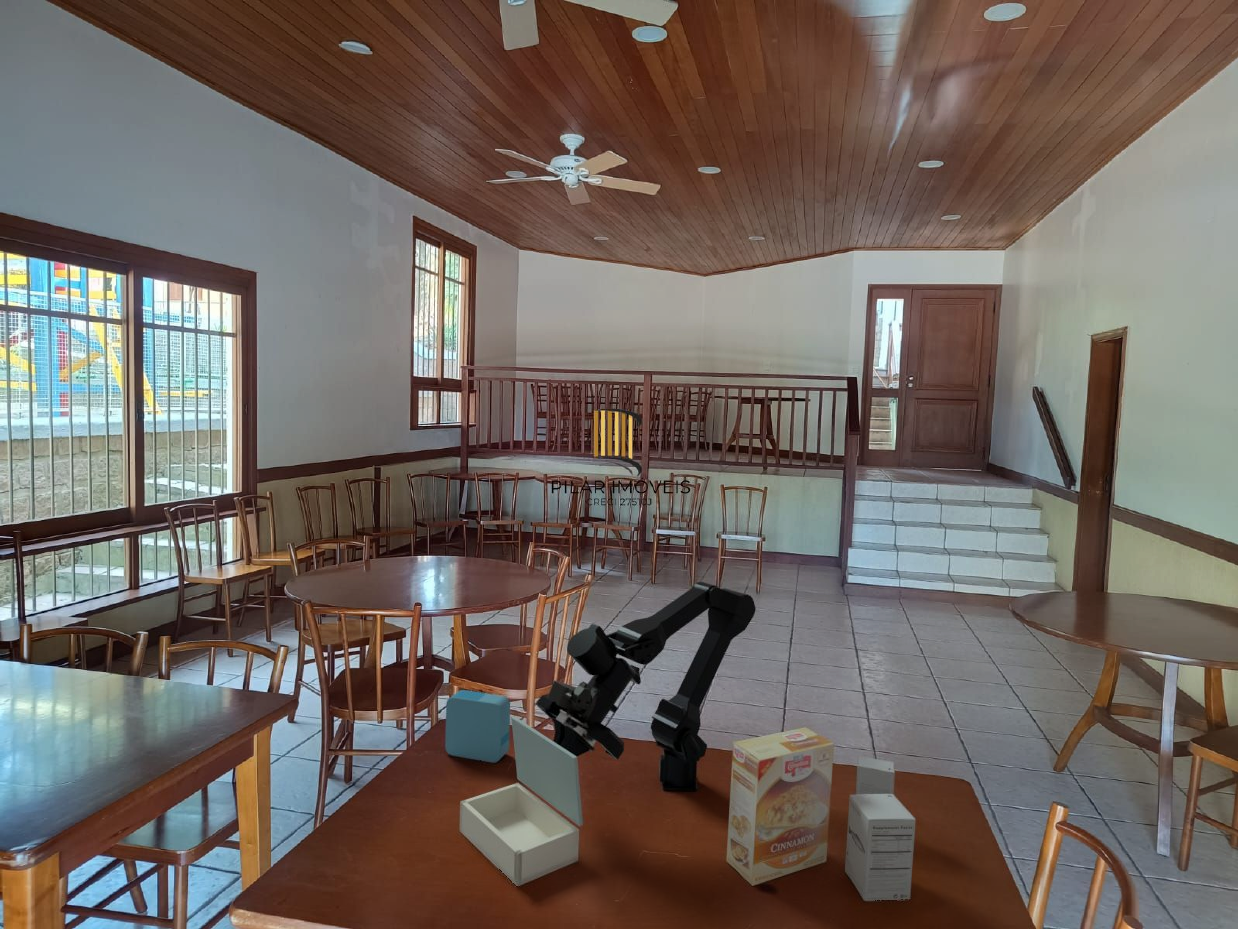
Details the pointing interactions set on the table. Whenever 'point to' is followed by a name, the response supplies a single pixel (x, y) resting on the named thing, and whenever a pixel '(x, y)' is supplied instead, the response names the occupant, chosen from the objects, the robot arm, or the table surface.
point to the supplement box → (880, 847)
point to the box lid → (547, 770)
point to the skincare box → (874, 776)
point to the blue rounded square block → (477, 726)
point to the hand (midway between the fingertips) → (547, 769)
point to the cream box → (519, 833)
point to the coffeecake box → (779, 804)
